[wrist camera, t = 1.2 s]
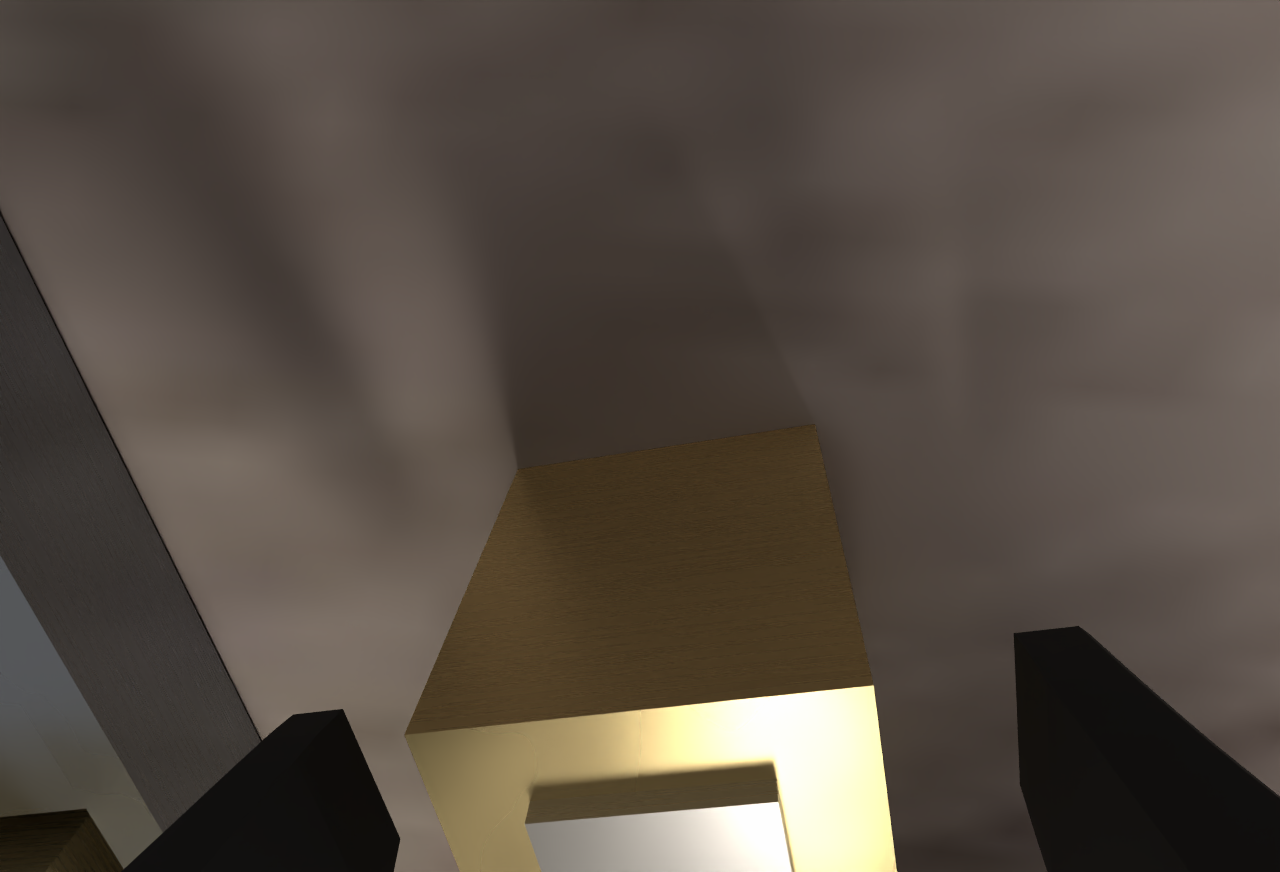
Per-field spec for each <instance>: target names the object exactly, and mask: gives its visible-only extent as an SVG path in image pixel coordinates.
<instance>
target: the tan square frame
mask: <svg viewBox="0 0 1280 872" xmlns="http://www.w3.org/2000/svg"><path fill="white" fill-rule="evenodd" d="M122 870H123V867H122V866H121V864H120V862H119V861H118V859H117V858H116V856H115V854H114V853H113V851H112V850H111V848H110V846H109V845H108V843H107V842H106V840H105V838H104V837H103V835H102V834H101V832H100V830H99V829H98V827H97V826H96V824H95V822H94V821H93V819H92V818H91V816H90V814H89V813H88V811H87V810H86V809H77V810H67V811H57V812H47V813H36V814H26V815H16V816H6V817H0V872H121V871H122Z"/></svg>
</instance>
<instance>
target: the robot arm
mask: <svg viewBox="0 0 1280 872" xmlns="http://www.w3.org/2000/svg"><path fill="white" fill-rule="evenodd" d="M1014 650H1015V674H1016V698H1017V722H1018V746H1019V770H1020V786H1021V789H1022V792H1023V796H1024V799H1025V802H1026V805H1027V809H1028V812H1029V815H1030V818H1031V822H1032V825H1033V828H1034V831H1035V835H1036V838H1037V841H1038V844H1039V847H1040V850H1041V853H1042V856H1043V860H1044V863H1045V866H1046V869H1047V872H1280V797H1279V796H1278V795H1277V794H1276V793H1275V792H1273V791H1272V790H1271V789H1270V788H1268V787H1267V786H1266V785H1265V784H1263V783H1262V782H1261V781H1260V780H1258V779H1257V778H1256V777H1255V776H1254V775H1252V774H1251V773H1250V772H1249V771H1247V770H1246V769H1245V768H1244V767H1242V766H1241V765H1240V764H1239V763H1237V762H1236V761H1235V760H1234V759H1233V758H1231V757H1230V756H1229V755H1228V754H1226V753H1225V752H1224V751H1223V750H1221V749H1220V748H1219V747H1218V746H1216V745H1215V744H1214V743H1213V742H1212V741H1211V740H1209V739H1208V738H1207V737H1206V736H1205V735H1203V734H1202V733H1201V732H1200V731H1199V730H1197V729H1196V728H1195V727H1194V726H1193V725H1192V724H1190V723H1189V722H1188V721H1187V720H1186V719H1185V718H1183V717H1182V716H1181V715H1180V714H1179V713H1178V712H1176V711H1175V710H1174V709H1173V708H1172V707H1171V706H1170V705H1168V704H1167V703H1166V702H1165V701H1164V700H1163V699H1161V698H1160V697H1159V696H1158V695H1157V694H1156V693H1155V692H1153V691H1152V690H1151V689H1150V688H1149V687H1148V686H1147V685H1146V684H1144V683H1143V682H1142V681H1141V680H1140V679H1139V678H1138V677H1136V676H1135V675H1134V674H1133V673H1132V672H1131V671H1130V670H1129V669H1128V668H1126V667H1125V666H1124V665H1123V664H1122V663H1121V662H1120V661H1119V660H1118V659H1116V658H1115V657H1114V656H1113V655H1112V654H1111V653H1110V652H1109V651H1108V650H1106V649H1105V648H1104V647H1103V646H1102V645H1101V644H1100V643H1099V642H1098V641H1097V640H1095V639H1094V638H1093V637H1092V636H1091V635H1090V634H1088V633H1087V632H1086V631H1084V630H1083V629H1082V628H1080V627H1079V626H1075V627H1067V628H1058V629H1049V630H1040V631H1031V632H1022V633H1014ZM399 843H400V837H399V835H398V832H397V830H396V828H395V826H394V823H393V821H392V819H391V817H390V814H389V812H388V810H387V808H386V805H385V803H384V801H383V799H382V796H381V794H380V792H379V790H378V787H377V785H376V783H375V781H374V778H373V776H372V774H371V772H370V769H369V767H368V765H367V762H366V760H365V758H364V756H363V753H362V751H361V749H360V747H359V744H358V742H357V740H356V738H355V735H354V733H353V731H352V729H351V726H350V724H349V722H348V720H347V717H346V715H345V713H344V711H343V709H339V710H330V711H321V712H312V713H304V714H295V715H292V716H291V717H290V718H288V719H287V720H286V721H285V722H284V723H282V724H281V725H280V726H279V727H278V728H276V729H275V730H274V731H273V732H272V733H271V734H269V735H268V736H267V737H266V738H265V739H264V740H263V741H261V742H260V743H259V744H258V745H257V746H256V747H255V748H254V749H253V750H251V751H250V752H249V753H248V754H247V755H246V756H245V757H244V758H243V759H242V760H241V761H239V762H238V763H237V764H236V765H235V766H234V767H233V768H232V769H231V770H230V771H229V772H228V773H227V774H225V775H224V776H223V777H222V778H221V779H220V780H219V781H218V782H217V783H216V784H215V785H214V786H213V787H212V788H210V789H209V790H208V791H207V792H206V793H205V794H204V795H203V796H202V797H201V798H200V799H199V800H198V801H197V802H195V803H194V804H193V805H192V806H191V807H190V808H189V809H188V810H187V811H186V812H185V813H184V814H183V815H182V816H180V817H179V818H178V819H177V820H176V821H175V822H174V823H173V824H172V825H171V826H170V827H169V828H167V829H166V830H165V831H164V832H163V833H162V834H161V835H160V836H159V837H158V838H157V839H156V840H155V841H153V842H152V843H151V844H150V845H149V846H148V847H147V848H146V849H145V850H144V851H143V852H142V853H141V854H139V855H138V856H137V857H136V858H135V859H134V860H133V861H132V862H131V863H130V864H129V865H128V866H127V867H125V868H124V869H123V870H122V871H121V872H394V867H395V862H396V858H397V853H398V848H399Z"/></svg>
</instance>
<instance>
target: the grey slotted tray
mask: <svg viewBox="0 0 1280 872" xmlns="http://www.w3.org/2000/svg"><path fill="white" fill-rule="evenodd" d="M260 742H261V741H260V739H259V737H258V735H257V733H256V731H255V729H254V727H253V725H252V723H251V721H250V719H249V717H248V715H247V713H246V711H245V709H244V707H243V705H242V703H241V700H240V698H239V696H238V694H237V692H236V690H235V688H234V686H233V684H232V682H231V680H230V678H229V676H228V674H227V672H226V670H225V668H224V666H223V664H222V662H221V660H220V658H219V656H218V654H217V652H216V650H215V648H214V646H213V644H212V642H211V640H210V638H209V636H208V634H207V632H206V630H205V628H204V626H203V624H202V622H201V620H200V618H199V616H198V614H197V612H196V610H195V608H194V606H193V604H192V602H191V600H190V597H189V595H188V593H187V591H186V589H185V587H184V585H183V583H182V581H181V579H180V577H179V575H178V573H177V571H176V569H175V567H174V565H173V563H172V561H171V559H170V557H169V555H168V553H167V551H166V549H165V547H164V545H163V543H162V541H161V539H160V537H159V535H158V533H157V531H156V529H155V527H154V525H153V523H152V521H151V519H150V517H149V515H148V513H147V511H146V509H145V507H144V505H143V503H142V501H141V499H140V497H139V494H138V492H137V490H136V488H135V486H134V484H133V482H132V480H131V478H130V476H129V474H128V472H127V470H126V468H125V466H124V464H123V462H122V460H121V458H120V456H119V454H118V452H117V450H116V448H115V446H114V444H113V442H112V440H111V438H110V436H109V434H108V432H107V430H106V428H105V426H104V424H103V422H102V420H101V418H100V416H99V414H98V412H97V410H96V408H95V406H94V404H93V402H92V400H91V398H90V396H89V394H88V391H87V389H86V387H85V385H84V383H83V381H82V379H81V377H80V375H79V373H78V371H77V369H76V367H75V365H74V363H73V361H72V359H71V357H70V355H69V353H68V351H67V349H66V347H65V345H64V343H63V341H62V339H61V337H60V335H59V333H58V331H57V329H56V327H55V325H54V323H53V321H52V319H51V317H50V315H49V313H48V311H47V309H46V307H45V305H44V303H43V301H42V299H41V297H40V295H39V293H38V291H37V288H36V286H35V284H34V282H33V280H32V278H31V276H30V274H29V272H28V270H27V268H26V266H25V264H24V262H23V260H22V258H21V256H20V254H19V252H18V250H17V248H16V246H15V244H14V242H13V240H12V238H11V236H10V234H9V232H8V230H7V228H6V226H5V224H4V222H3V220H2V218H1V216H0V817H6V816H16V815H26V814H36V813H47V812H57V811H67V810H77V809H86V810H87V811H88V813H89V814H90V816H91V818H92V819H93V821H94V822H95V824H96V826H97V827H98V829H99V830H100V832H101V834H102V835H103V837H104V838H105V840H106V842H107V843H108V845H109V846H110V848H111V850H112V851H113V853H114V854H115V856H116V858H117V859H118V861H119V862H120V864H121V866H122V867H123V869H124V868H125V867H127V866H128V865H129V864H130V863H131V862H132V861H133V860H134V859H135V858H136V857H137V856H138V855H139V854H141V853H142V852H143V851H144V850H145V849H146V848H147V847H148V846H149V845H150V844H151V843H152V842H153V841H155V840H156V839H157V838H158V837H159V836H160V835H161V834H162V833H163V832H164V831H165V830H166V829H167V828H169V827H170V826H171V825H172V824H173V823H174V822H175V821H176V820H177V819H178V818H179V817H180V816H182V815H183V814H184V813H185V812H186V811H187V810H188V809H189V808H190V807H191V806H192V805H193V804H194V803H195V802H197V801H198V800H199V799H200V798H201V797H202V796H203V795H204V794H205V793H206V792H207V791H208V790H209V789H210V788H212V787H213V786H214V785H215V784H216V783H217V782H218V781H219V780H220V779H221V778H222V777H223V776H224V775H225V774H227V773H228V772H229V771H230V770H231V769H232V768H233V767H234V766H235V765H236V764H237V763H238V762H239V761H241V760H242V759H243V758H244V757H245V756H246V755H247V754H248V753H249V752H250V751H251V750H253V749H254V748H255V747H256V746H257V745H258V744H259V743H260Z"/></svg>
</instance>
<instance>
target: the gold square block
mask: <svg viewBox="0 0 1280 872" xmlns="http://www.w3.org/2000/svg"><path fill="white" fill-rule="evenodd" d="M405 738H406V740H407V743H408V745H409V748H410V750H411V753H412V755H413V757H414V760H415V762H416V765H417V767H418V770H419V772H420V775H421V777H422V779H423V782H424V784H425V787H426V789H427V792H428V794H429V797H430V799H431V802H432V804H433V806H434V809H435V811H436V814H437V816H438V819H439V821H440V824H441V826H442V828H443V831H444V833H445V836H446V838H447V841H448V843H449V846H450V848H451V851H452V853H453V855H454V858H455V860H456V863H457V865H458V868H459V870H460V872H897V869H896V861H895V853H894V845H893V837H892V829H891V821H890V813H889V805H888V797H887V789H886V781H885V773H884V765H883V757H882V749H881V741H880V733H879V725H878V717H877V710H876V702H875V694H874V686H873V681H872V677H871V672H870V668H869V663H868V659H867V654H866V650H865V645H864V641H863V637H862V632H861V628H860V623H859V619H858V614H857V610H856V605H855V601H854V596H853V592H852V588H851V583H850V579H849V574H848V570H847V565H846V561H845V556H844V552H843V547H842V543H841V539H840V534H839V530H838V525H837V521H836V516H835V512H834V507H833V503H832V498H831V494H830V489H829V485H828V481H827V476H826V472H825V467H824V463H823V458H822V454H821V449H820V445H819V440H818V436H817V432H816V427H815V424H814V425H807V426H801V427H794V428H787V429H781V430H774V431H767V432H761V433H754V434H748V435H741V436H734V437H728V438H721V439H715V440H708V441H701V442H695V443H688V444H681V445H675V446H668V447H662V448H655V449H648V450H642V451H635V452H629V453H622V454H615V455H609V456H602V457H595V458H589V459H582V460H576V461H569V462H562V463H556V464H549V465H543V466H536V467H529V468H523V469H518V471H517V473H516V475H515V478H514V480H513V482H512V485H511V487H510V489H509V492H508V494H507V496H506V499H505V501H504V503H503V506H502V508H501V510H500V513H499V515H498V517H497V520H496V522H495V524H494V527H493V529H492V531H491V534H490V536H489V538H488V541H487V543H486V545H485V548H484V550H483V552H482V555H481V557H480V559H479V562H478V564H477V566H476V569H475V571H474V573H473V576H472V578H471V580H470V583H469V585H468V587H467V590H466V592H465V594H464V597H463V599H462V601H461V604H460V606H459V608H458V611H457V613H456V615H455V618H454V620H453V622H452V625H451V627H450V629H449V632H448V634H447V636H446V639H445V641H444V643H443V646H442V648H441V650H440V653H439V655H438V657H437V660H436V662H435V664H434V667H433V669H432V671H431V674H430V676H429V678H428V681H427V683H426V685H425V688H424V690H423V692H422V695H421V697H420V699H419V702H418V704H417V706H416V709H415V711H414V713H413V716H412V718H411V721H410V723H409V725H408V728H407V730H406V732H405Z"/></svg>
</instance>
